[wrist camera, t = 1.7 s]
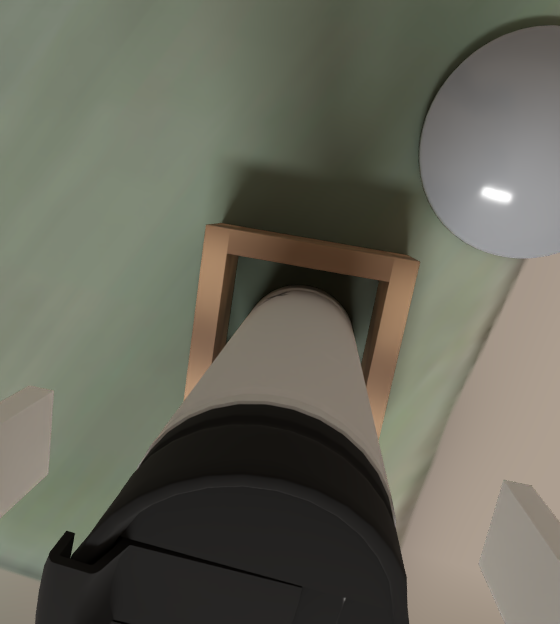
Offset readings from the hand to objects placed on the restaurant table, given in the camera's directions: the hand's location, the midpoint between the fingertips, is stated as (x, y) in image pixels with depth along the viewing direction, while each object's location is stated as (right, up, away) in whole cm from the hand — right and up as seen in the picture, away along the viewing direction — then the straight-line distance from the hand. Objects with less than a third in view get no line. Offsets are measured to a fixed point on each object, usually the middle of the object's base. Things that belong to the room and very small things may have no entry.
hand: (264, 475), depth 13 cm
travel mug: (+1, +3, +14) cm, 14 cm away
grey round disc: (+13, +13, +10) cm, 21 cm away
